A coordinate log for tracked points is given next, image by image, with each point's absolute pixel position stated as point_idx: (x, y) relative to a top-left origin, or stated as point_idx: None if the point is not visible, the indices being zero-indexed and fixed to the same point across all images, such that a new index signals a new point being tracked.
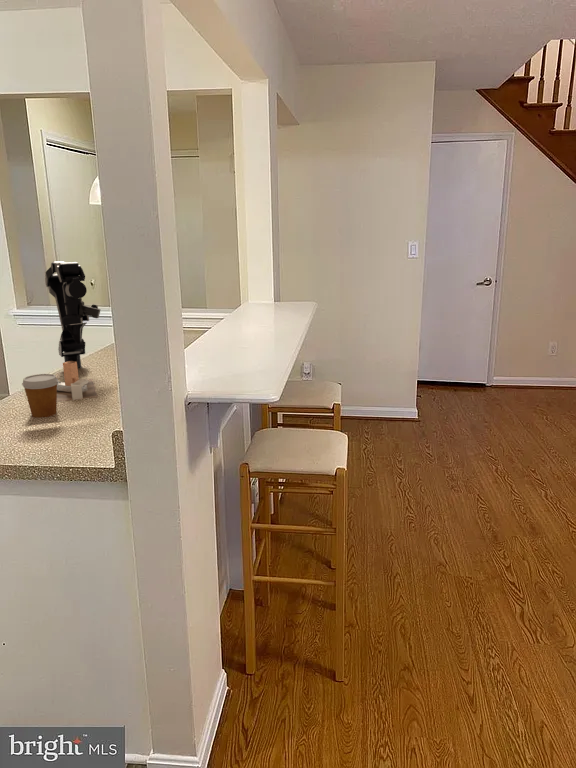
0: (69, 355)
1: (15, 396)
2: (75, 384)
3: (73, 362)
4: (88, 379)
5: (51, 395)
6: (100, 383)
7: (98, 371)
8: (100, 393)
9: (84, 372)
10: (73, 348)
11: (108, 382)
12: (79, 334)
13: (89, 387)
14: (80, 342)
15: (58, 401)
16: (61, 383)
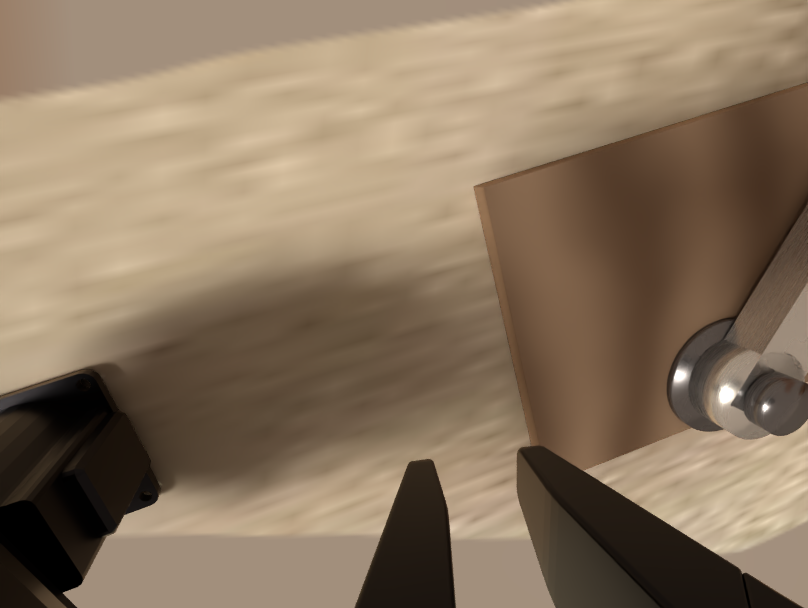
0: (47, 581)
1: None
2: None
3: None
4: (500, 216)
5: None
6: (522, 109)
7: (73, 221)
8: (785, 56)
9: (121, 345)
10: (42, 598)
11: (503, 40)
12: (738, 590)
13: (729, 150)
14: (435, 473)
15: None
16: (799, 336)
